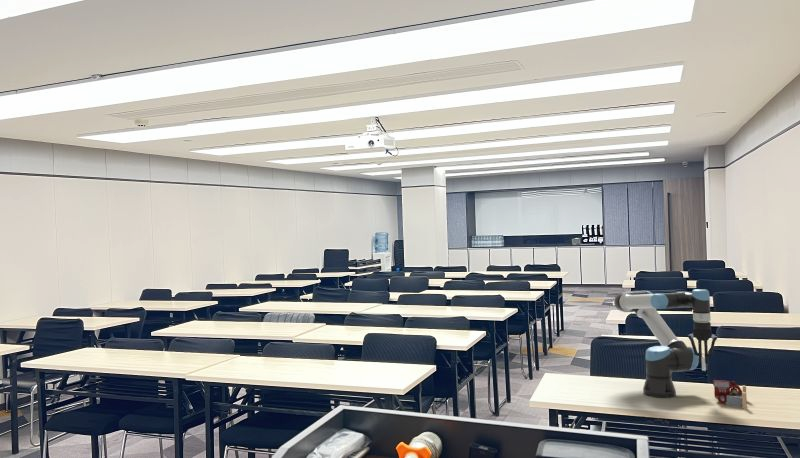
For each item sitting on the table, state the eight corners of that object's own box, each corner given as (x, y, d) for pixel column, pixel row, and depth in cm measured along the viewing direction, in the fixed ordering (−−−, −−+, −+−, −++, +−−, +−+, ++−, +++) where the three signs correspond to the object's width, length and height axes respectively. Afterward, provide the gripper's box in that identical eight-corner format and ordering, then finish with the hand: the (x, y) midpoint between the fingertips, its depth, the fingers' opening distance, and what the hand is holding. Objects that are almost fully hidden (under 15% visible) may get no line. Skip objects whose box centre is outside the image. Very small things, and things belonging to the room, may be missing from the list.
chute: (726, 406, 263) (726, 391, 263) (728, 398, 276) (727, 384, 276) (746, 408, 259) (745, 393, 259) (746, 400, 272) (746, 385, 272)
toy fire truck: (744, 406, 263) (743, 383, 264) (714, 403, 269) (713, 381, 269) (743, 402, 270) (742, 380, 270) (713, 399, 275) (712, 378, 275)
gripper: (686, 321, 275) (688, 370, 275) (716, 323, 268) (718, 373, 268) (687, 319, 282) (689, 367, 281) (717, 321, 275) (719, 369, 274)
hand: (703, 370), depth 275 cm, fingers closed
